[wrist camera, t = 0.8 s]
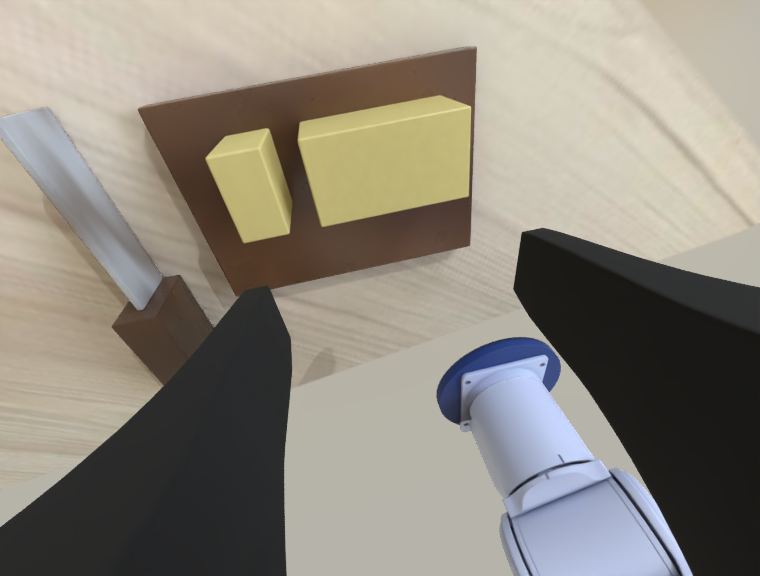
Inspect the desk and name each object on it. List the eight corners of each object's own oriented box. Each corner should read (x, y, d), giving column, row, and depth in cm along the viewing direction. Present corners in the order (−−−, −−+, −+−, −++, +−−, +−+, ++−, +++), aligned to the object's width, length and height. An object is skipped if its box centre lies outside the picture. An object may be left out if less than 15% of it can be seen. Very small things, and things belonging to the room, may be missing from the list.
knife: (234, 360, 21) (224, 406, 19) (204, 367, 21) (189, 414, 19) (71, 102, 12) (5, 117, 10) (16, 112, 12) (-67, 130, 9)
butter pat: (293, 202, 15) (290, 234, 12) (253, 210, 15) (243, 244, 12) (269, 127, 13) (259, 146, 10) (223, 135, 13) (203, 157, 10)
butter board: (463, 237, 19) (470, 246, 18) (239, 286, 18) (236, 297, 17) (467, 46, 13) (477, 46, 13) (146, 104, 13) (136, 108, 12)
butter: (442, 172, 15) (469, 197, 13) (319, 197, 15) (321, 228, 13) (441, 94, 13) (471, 105, 11) (299, 121, 13) (296, 139, 11)
